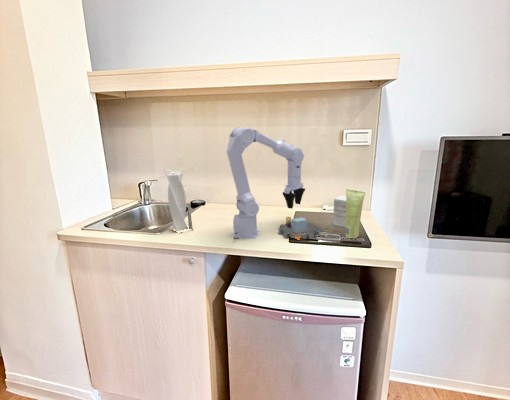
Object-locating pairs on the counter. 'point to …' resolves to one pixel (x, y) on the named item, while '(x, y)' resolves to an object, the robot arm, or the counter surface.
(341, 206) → the supplement box
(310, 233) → the sprocket
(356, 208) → the tube
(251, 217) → the robot arm
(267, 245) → the counter surface
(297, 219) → the link block
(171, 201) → the skyscraper
